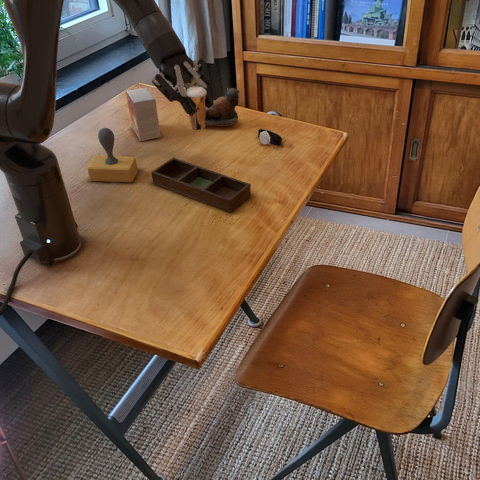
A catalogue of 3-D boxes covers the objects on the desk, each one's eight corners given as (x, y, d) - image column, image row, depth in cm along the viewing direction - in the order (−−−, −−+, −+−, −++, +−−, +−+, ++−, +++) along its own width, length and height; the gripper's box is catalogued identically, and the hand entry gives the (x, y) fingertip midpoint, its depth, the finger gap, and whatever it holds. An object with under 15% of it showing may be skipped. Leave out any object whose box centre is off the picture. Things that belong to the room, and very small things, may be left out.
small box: (132, 128, 153) (125, 90, 146) (152, 124, 155) (146, 86, 148) (140, 142, 148) (132, 102, 141) (161, 137, 149) (155, 98, 143)
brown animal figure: (193, 129, 153) (190, 92, 146) (199, 117, 158) (195, 81, 151) (239, 131, 152) (237, 94, 145) (242, 119, 157) (241, 83, 151)
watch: (253, 139, 149) (252, 126, 146) (267, 133, 151) (267, 120, 149) (272, 150, 144) (272, 137, 142) (286, 144, 147) (287, 131, 144)
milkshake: (210, 121, 133) (208, 78, 127) (206, 132, 129) (203, 88, 123) (191, 120, 133) (187, 77, 127) (185, 130, 129) (182, 87, 123)
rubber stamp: (138, 170, 137) (129, 123, 129) (132, 183, 133) (122, 135, 125) (97, 168, 138) (85, 121, 130) (89, 181, 134) (77, 134, 126)
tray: (230, 213, 124) (229, 200, 122) (153, 184, 133) (151, 171, 131) (250, 196, 129) (250, 184, 127) (174, 169, 138) (173, 157, 136)
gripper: (139, 39, 118) (184, 112, 120) (192, 22, 126) (233, 92, 128) (127, 58, 124) (170, 128, 126) (178, 41, 132) (218, 107, 134)
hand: (202, 109), depth 127 cm, fingers closed on milkshake, 4 cm apart
